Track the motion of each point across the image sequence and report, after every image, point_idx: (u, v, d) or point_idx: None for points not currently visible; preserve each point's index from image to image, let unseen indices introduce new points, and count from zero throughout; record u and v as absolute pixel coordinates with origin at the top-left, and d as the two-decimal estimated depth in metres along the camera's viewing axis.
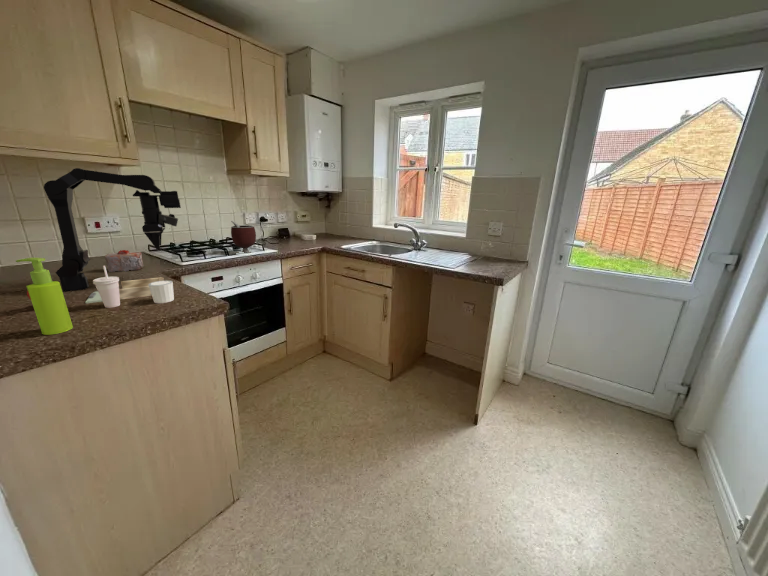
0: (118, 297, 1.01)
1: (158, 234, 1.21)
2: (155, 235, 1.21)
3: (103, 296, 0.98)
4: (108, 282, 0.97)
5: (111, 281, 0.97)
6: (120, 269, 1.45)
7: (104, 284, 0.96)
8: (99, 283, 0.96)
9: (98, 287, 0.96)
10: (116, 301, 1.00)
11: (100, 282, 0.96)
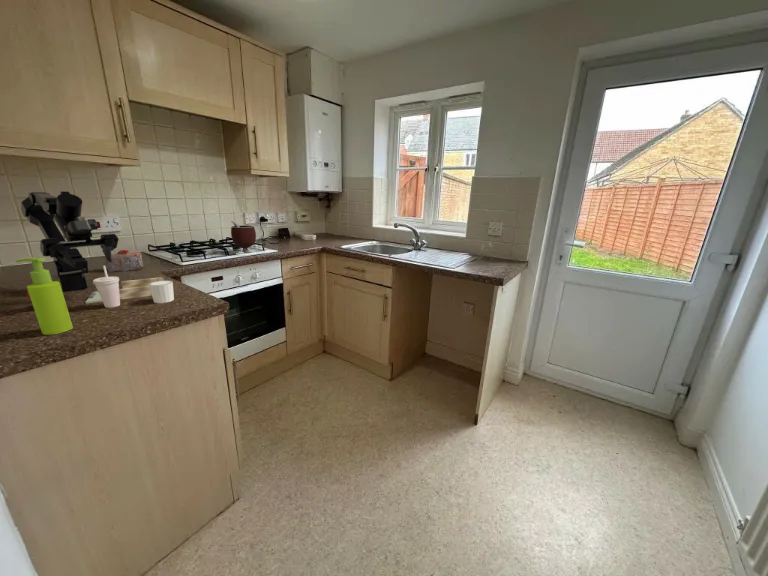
0: (118, 297, 1.01)
1: (57, 250, 0.96)
2: None
3: (103, 296, 0.98)
4: (108, 282, 0.97)
5: (111, 281, 0.97)
6: (120, 269, 1.46)
7: (104, 284, 0.96)
8: (99, 283, 0.96)
9: (98, 287, 0.96)
10: (116, 301, 1.00)
11: (100, 282, 0.96)
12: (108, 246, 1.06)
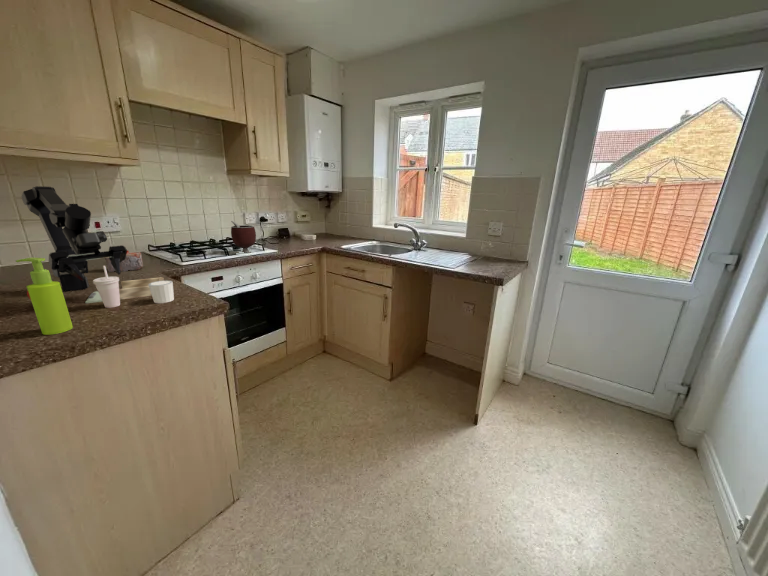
0: (118, 297, 1.01)
1: (66, 263, 0.94)
2: None
3: (103, 296, 0.98)
4: (108, 282, 0.97)
5: (111, 281, 0.97)
6: (120, 269, 1.46)
7: (104, 284, 0.96)
8: (99, 283, 0.96)
9: (98, 287, 0.96)
10: (116, 301, 1.00)
11: (100, 282, 0.96)
12: (117, 258, 1.04)
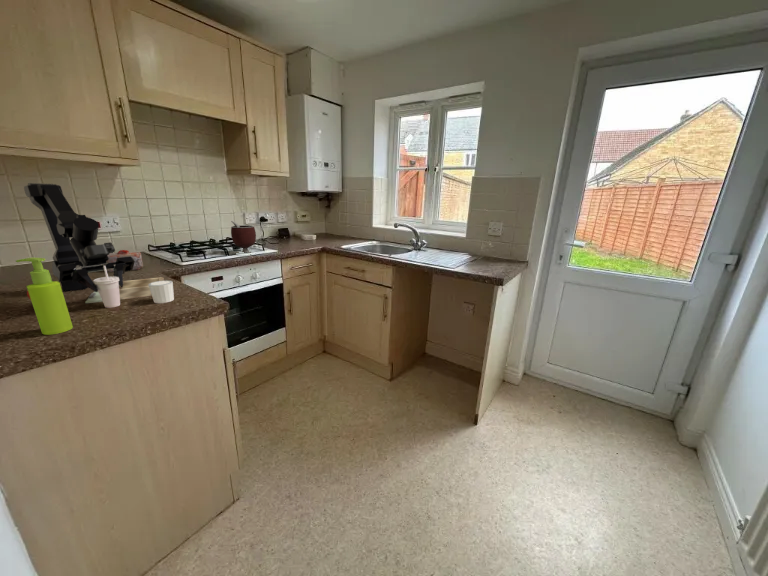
0: (118, 297, 1.01)
1: (80, 275, 0.94)
2: None
3: (103, 295, 0.98)
4: (108, 282, 0.97)
5: (111, 281, 0.97)
6: None
7: (104, 284, 0.96)
8: (99, 283, 0.96)
9: (98, 287, 0.96)
10: (116, 301, 1.00)
11: (100, 282, 0.96)
12: (119, 270, 1.02)
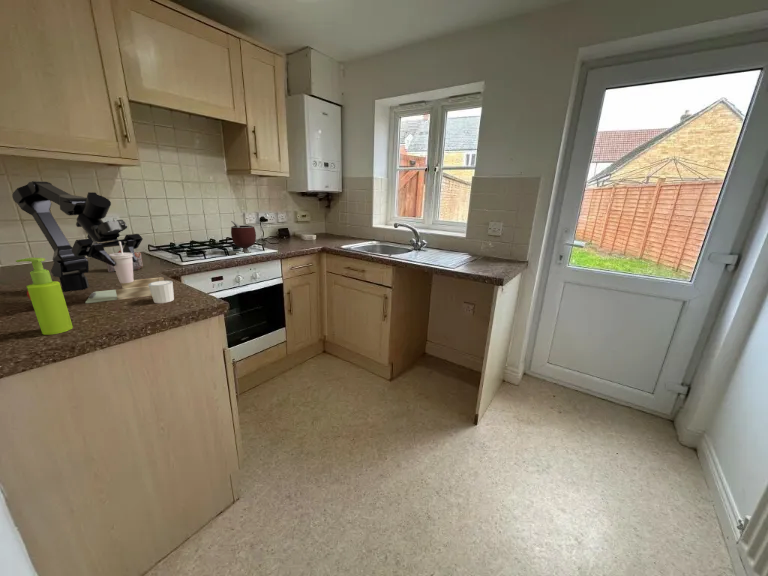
0: (132, 272, 1.06)
1: (97, 250, 0.99)
2: (100, 252, 1.00)
3: (120, 270, 1.03)
4: (125, 256, 1.02)
5: (128, 256, 1.03)
6: None
7: (122, 258, 1.02)
8: (117, 257, 1.01)
9: (115, 261, 1.01)
10: (131, 276, 1.06)
11: (118, 256, 1.01)
12: (131, 246, 1.07)
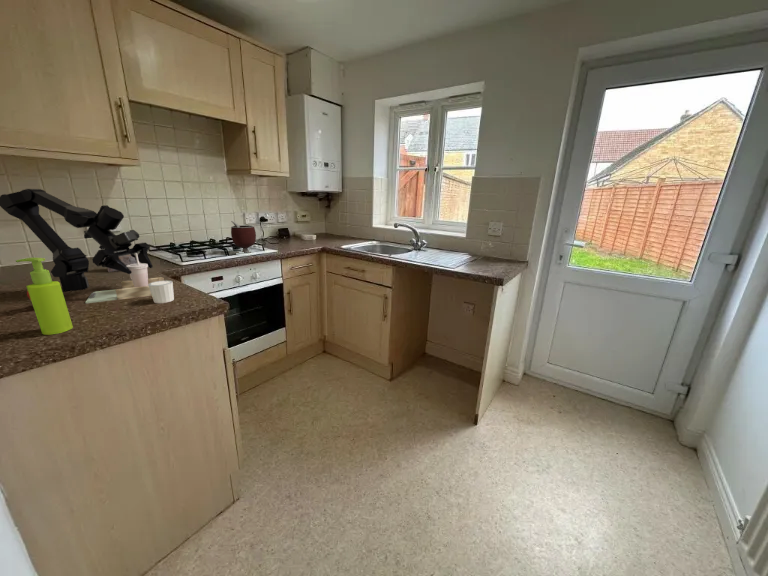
0: (147, 281, 1.15)
1: (113, 259, 1.05)
2: (115, 262, 1.06)
3: (138, 279, 1.12)
4: (143, 267, 1.12)
5: (145, 266, 1.12)
6: None
7: (140, 269, 1.11)
8: (136, 268, 1.10)
9: (134, 272, 1.10)
10: (147, 284, 1.15)
11: (137, 267, 1.10)
12: (145, 254, 1.17)
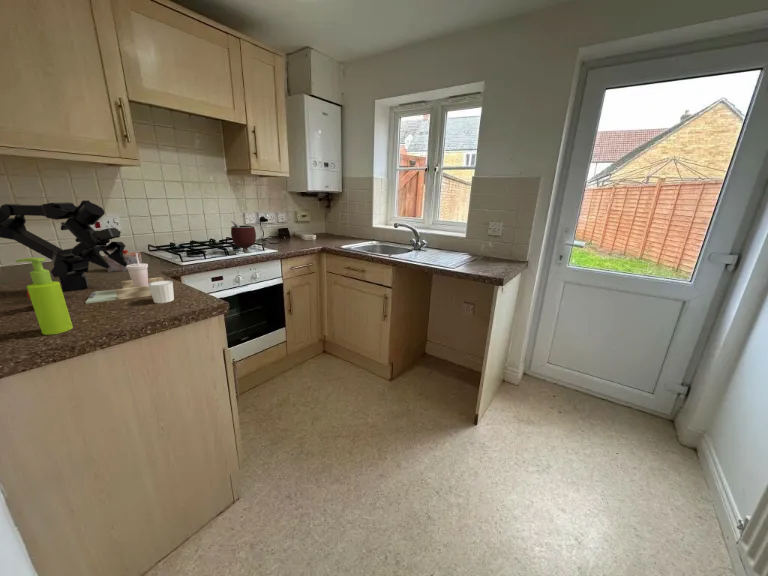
0: (147, 281, 1.15)
1: (94, 252, 1.06)
2: (94, 255, 1.07)
3: (138, 279, 1.12)
4: (143, 267, 1.12)
5: (145, 266, 1.12)
6: (120, 269, 1.46)
7: (140, 269, 1.11)
8: (136, 268, 1.10)
9: (134, 272, 1.10)
10: (147, 284, 1.15)
11: (137, 267, 1.10)
12: (121, 252, 1.18)
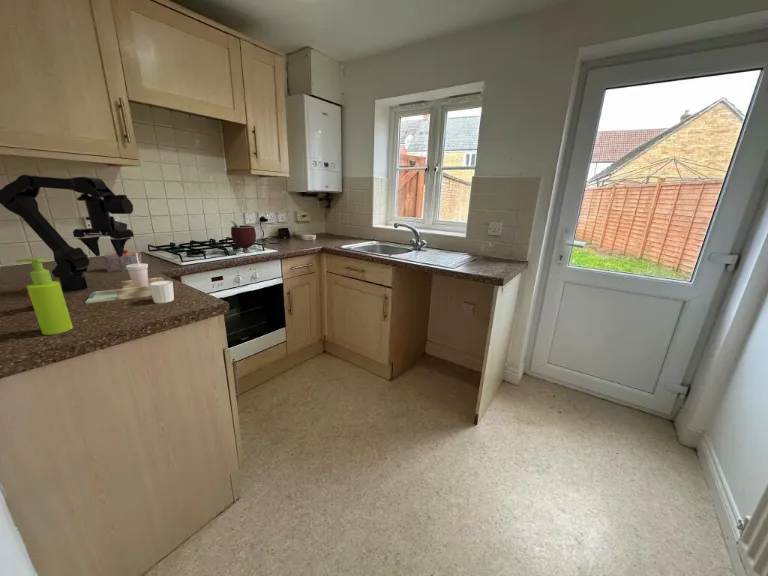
0: (147, 281, 1.15)
1: (125, 240, 1.15)
2: (120, 242, 1.14)
3: (138, 279, 1.12)
4: (143, 267, 1.12)
5: (145, 266, 1.12)
6: (120, 269, 1.46)
7: (140, 269, 1.11)
8: (136, 268, 1.10)
9: (134, 272, 1.10)
10: (147, 284, 1.15)
11: (137, 267, 1.10)
12: None
